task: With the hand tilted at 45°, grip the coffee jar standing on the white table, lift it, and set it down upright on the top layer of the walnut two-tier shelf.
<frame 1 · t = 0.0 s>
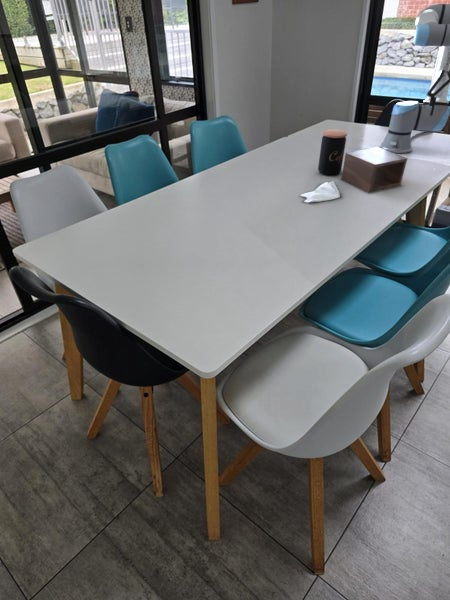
hand: (449, 116, 165), 28 cm above the table, tool tilted 20°, fingers open, 13 cm apart
shelf: (370, 182, 183), on the table
cloth: (324, 194, 173), on the table
coffee jar: (329, 172, 194), on the table
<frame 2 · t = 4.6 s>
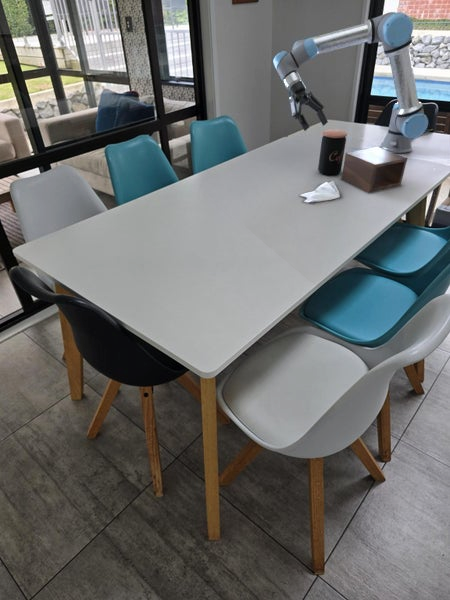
hand: (316, 126, 189), 19 cm above the table, tool tilted 45°, fingers open, 13 cm apart
nothing on the table moved.
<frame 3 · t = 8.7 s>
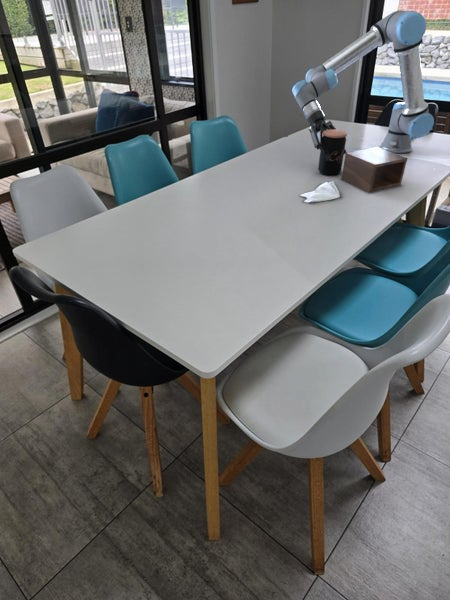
hand: (336, 156, 188), 8 cm above the table, tool tilted 45°, fingers closed on coffee jar, 11 cm apart
coffee jar: (329, 172, 194), on the table, touching gripper
everything else where it was.
when the fingers open (20 cm above the table, at t = 18.3 s): coffee jar stays where it is, resting on shelf.
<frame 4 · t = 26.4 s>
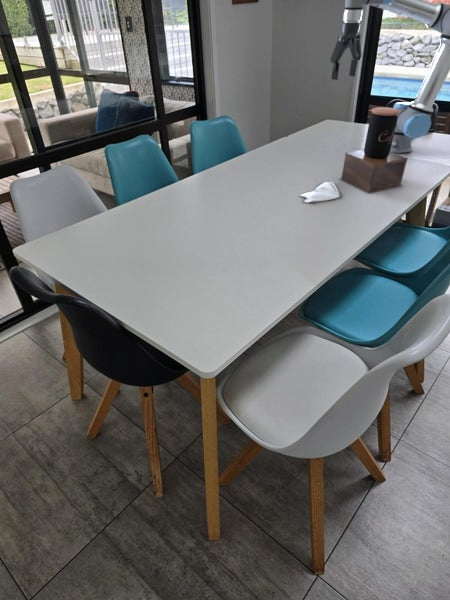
hand: (343, 77, 189), 37 cm above the table, tool pointing down, fingers open, 13 cm apart
coffee jar: (375, 155, 176), point 12 cm above the table, touching shelf
everything else where it was.
at the end: coffee jar inside the target area on the shelf (0.0 cm from its centre), point 11.8 cm above the shelf's base; coffee jar tilted 0°; the gripper is holding nothing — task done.
